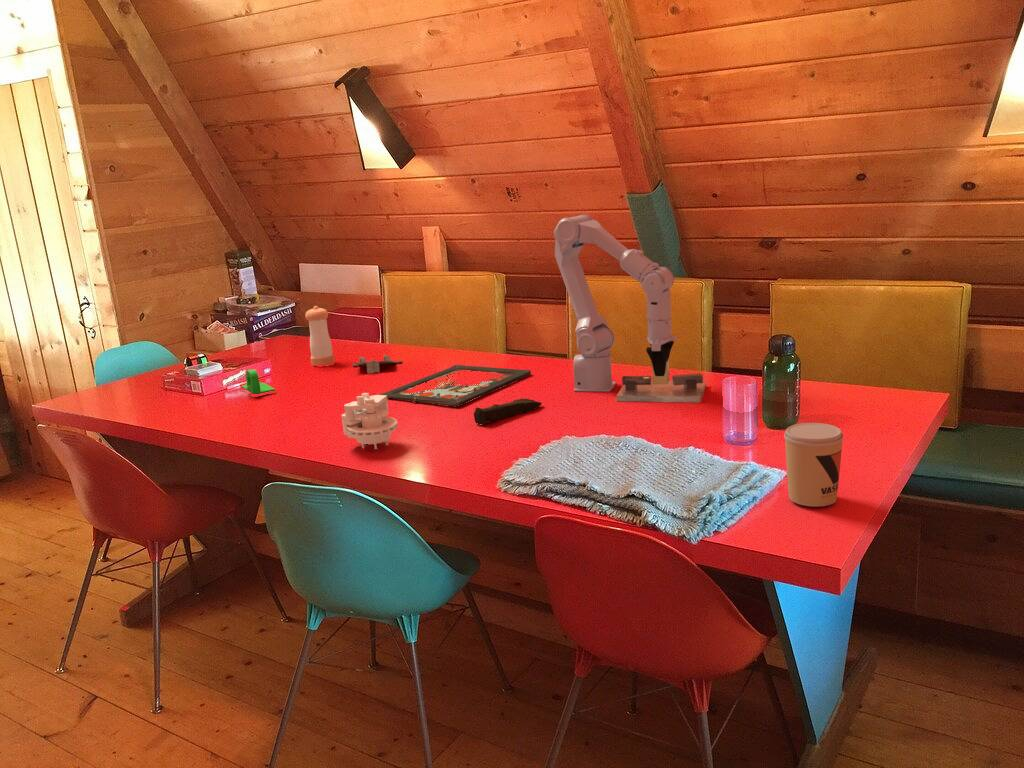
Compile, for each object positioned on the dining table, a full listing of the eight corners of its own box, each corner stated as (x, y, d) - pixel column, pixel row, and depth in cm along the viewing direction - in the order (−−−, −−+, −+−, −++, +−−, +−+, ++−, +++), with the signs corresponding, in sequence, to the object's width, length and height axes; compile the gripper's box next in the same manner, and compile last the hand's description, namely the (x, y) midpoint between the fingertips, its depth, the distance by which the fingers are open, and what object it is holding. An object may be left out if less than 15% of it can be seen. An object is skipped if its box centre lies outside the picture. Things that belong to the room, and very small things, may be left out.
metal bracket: (397, 353, 260) (346, 357, 260) (398, 373, 260) (347, 377, 260) (402, 356, 274) (354, 360, 274) (404, 375, 274) (355, 378, 274)
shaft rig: (616, 401, 215) (615, 383, 214) (626, 386, 228) (625, 369, 227) (700, 402, 209) (699, 383, 208) (705, 386, 222) (705, 369, 221)
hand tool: (483, 410, 202) (470, 406, 205) (484, 427, 203) (471, 423, 207) (543, 392, 214) (530, 389, 217) (543, 408, 215) (530, 404, 218)
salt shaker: (313, 365, 280) (305, 305, 275) (336, 363, 281) (328, 303, 276) (310, 370, 273) (302, 309, 268) (334, 368, 274) (326, 307, 269)
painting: (534, 377, 247) (534, 368, 246) (460, 412, 219) (459, 402, 218) (454, 370, 262) (453, 362, 261) (375, 402, 234) (374, 393, 233)
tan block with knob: (652, 384, 216) (651, 357, 215) (654, 379, 220) (654, 353, 219) (667, 384, 215) (666, 357, 214) (669, 379, 219) (668, 353, 218)
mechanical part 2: (372, 458, 188) (365, 404, 185) (336, 449, 196) (329, 397, 193) (411, 443, 196) (405, 391, 193) (375, 435, 204) (369, 385, 201)
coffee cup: (828, 513, 144) (829, 443, 141) (774, 501, 150) (774, 434, 147) (850, 494, 151) (852, 427, 148) (798, 483, 157) (798, 419, 154)
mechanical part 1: (275, 395, 247) (271, 368, 245) (254, 400, 244) (250, 372, 242) (262, 388, 257) (258, 361, 255) (242, 392, 254) (238, 365, 252)
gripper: (672, 324, 206) (674, 380, 209) (679, 312, 219) (681, 365, 223) (642, 325, 208) (644, 380, 212) (651, 313, 221) (652, 366, 225)
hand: (661, 373), depth 217 cm, fingers closed on tan block with knob, 4 cm apart
